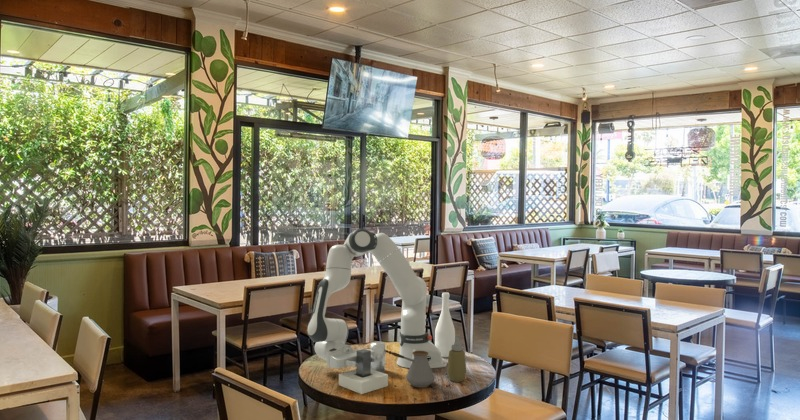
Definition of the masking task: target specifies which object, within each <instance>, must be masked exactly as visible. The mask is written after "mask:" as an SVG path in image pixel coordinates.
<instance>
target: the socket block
mask: <svg viewBox="0 0 800 420" xmlns="http://www.w3.org/2000/svg"><path fill="white" fill-rule="evenodd" d="M338 386H340V387H342V388H345V389H348V390H350V391H353V392H355V393H358V394H360V395H363V394H366V393H369V392H374V391H377V390H379V389H383V388H387V387H388V386H389V374H387V373H385V372H383V373H382V372H379V371H376V370H373V369H371V376H367V377H364V378H362V377H359V376H357V375H356V368H355V369H352V370H348V371H345V372H341V373H339V374H338Z"/></svg>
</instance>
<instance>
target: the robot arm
mask: <svg viewBox="0 0 800 420" xmlns="http://www.w3.org/2000/svg"><path fill="white" fill-rule="evenodd" d="M367 253H370V254H371V255H372V256H373V257H375V259H376V261H377V262H378V264H379V265H380V266H381V268H382V269H383V270H384V272H385V273H386V275H387V276H388V278H389V279H390V281H391V283H392V285H393V287H394V289H395V290H396V292H397V293H398V295H399V297H400V298H401V299H402V300H401V301H402V302H401V313H400V332H399V343H398V344H399V352H398V354H400V355H402V356H404V357H407V358H410V359H414V355H413V352H414V351H426V352H428V353H429V354H428V355H427V360H428V362H429V365H430V367H431V369H441V368H447V367H448V361H446V359H444V357H442V356H441V352H440V350H439V348H437V347H436V346H435V343H433V342H432V341H431V340H432V339H433V336H432V335H431V334H429V333H428V332H426V311H427V293H428V292H427V291H428V290H427V289H428V287H427V284H426V281H425V280H424V279H423V278H422V277H420V276H417V274H416V273H415V271H414V269H413V268H412V266H411V264H410V262H409V261H408V260H407V258H406V256H405V255H404V254H403V252H402V250H400V248H399V247H398V246H397V244H396V243H395V242H394V241H393V240H392V239H391V238H390V236H388V235H387V234H386V233H384V232H378V233H373V232H371V231H369V230H368V229H365V228H357V229H355V230H353V231H351V232H350V233H349V234H348V235H347V237H346V239H345V241H344V242H343V244H335V245H333V246H331V247H330V248H329V250H328V253H327V258H326V266H325V273H324V277H323V279H322V280H320V281H319V283H318V285H317V289H316V292H315V296H314V302H313V306H312V309H311V310H312V311H311V316H310V319H309V321H308V323H307V328H306V332H307V336H308V337H309V339H310V340H311V341H313V342H314V343H315V344H314V351H315V354H316V355H317V356H318V357H319V358H320V359H322V360H324V361H325V362H326V367H327V368H332V369H337V370H339V369H342V368H346V367H353V368H357V350H361V349H367V350H370V348H363V347H362V348H356V349H354V348H353V347H352V346H351V345H350V344H346V342H347V339H348V337H349V332H350V331H349V330H350V329H349V326H348V323H347V322H346V320H344V319H341V318H329V317H326V316H325V315H326V311H327V305H328V302H329V298H330V297H331V295H332V294H333V293H336V292H338V291H341V290H343V289H345V288H346V287H347V286H348V285H349V284H350V281H351V278H352V276H351V275H352V262H353V259H357V258H360V257H362V256H364V255H365V254H367ZM370 351H371V362H375V351H374V350H370ZM411 364H412V361H409V360H407V359H404V358H400V357H397V361H396V365H397V366H399V367H402V368H406V369H409V368H410V366H411Z"/></svg>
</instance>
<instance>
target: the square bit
mask: <svg viewBox="0 0 800 420" xmlns="http://www.w3.org/2000/svg"><path fill="white" fill-rule="evenodd" d="M360 349H361V348H360ZM367 349H368V348H365V349H361V350H357V349H356V350H357V366H356V367H355V369H356V375H357V376H359V377H362V378H364V377H367V376H371V351H370V350H367Z"/></svg>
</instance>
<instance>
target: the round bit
mask: <svg viewBox="0 0 800 420" xmlns="http://www.w3.org/2000/svg"><path fill="white" fill-rule="evenodd" d="M369 345H370V346H369V349H370V350H374V351H375V362H371V369H373V370H376V371H379V372H382V373H385V372H386V354H385V350H386V342H384V341H381V340H379V341H371V342H370V343H369ZM383 352H384V354H385V355H383Z"/></svg>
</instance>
